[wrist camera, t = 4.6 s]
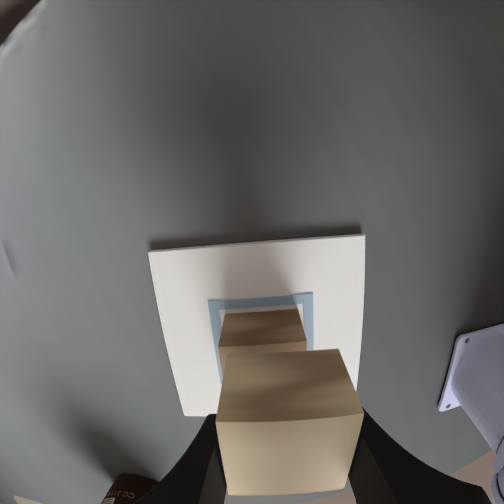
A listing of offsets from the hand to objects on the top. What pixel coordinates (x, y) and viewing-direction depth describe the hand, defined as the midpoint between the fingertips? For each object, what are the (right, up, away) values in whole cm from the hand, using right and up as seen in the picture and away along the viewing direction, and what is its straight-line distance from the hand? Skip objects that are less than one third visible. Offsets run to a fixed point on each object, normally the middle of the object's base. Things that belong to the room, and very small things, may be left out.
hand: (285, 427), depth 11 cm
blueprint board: (-1, +1, +9) cm, 9 cm away
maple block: (0, +1, +2) cm, 2 cm away
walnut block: (-1, +1, +9) cm, 9 cm away
